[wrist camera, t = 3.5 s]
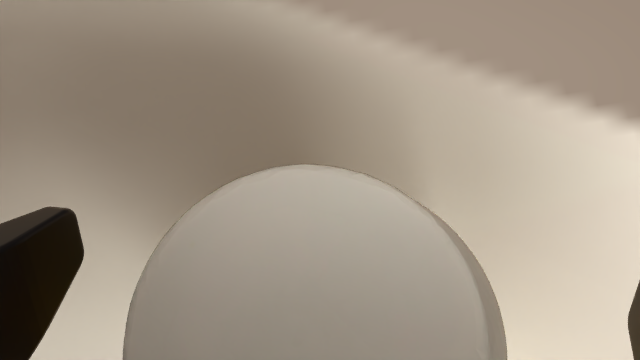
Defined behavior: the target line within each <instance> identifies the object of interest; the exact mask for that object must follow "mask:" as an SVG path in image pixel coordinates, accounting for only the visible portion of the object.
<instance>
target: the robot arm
mask: <svg viewBox="0 0 640 360" xmlns="http://www.w3.org/2000/svg"><path fill="white" fill-rule="evenodd" d="M83 257H84V247H83V243H82V239H81V234H80V230H79V226H78V222H77V218H76V215H75V213H74V212H73V211H72V210H71V209H68V208H59V207H45V208H42V209H40V210H37V211H34V212H31V213H29V214H26V215H23V216H21V217H18V218H15V219H12V220H10V221H7V222H4V223H1V224H0V360H29V359H30V357H31V356H32V354H33V353H34V351H35V350H36V348H37V346H38V345H39V343H40V341H41V340H42V338H43V337H44V335H45V333H46V331H47V329H48V328H49V326H50V324H51V322H52V320H53V318H54V316H55V314H56V312H57V310H58V308H59V306H60V305H61V303H62V301H63V299H64V297H65V295H66V293H67V291H68V289H69V287H70V285H71V283H72V281H73V279H74V277H75V275H76V274H77V272H78V270H79V268H80V266H81V264H82V261H83ZM628 330H629V335H630V341H631V346H632V351H633V357H634V360H640V281H639V284H638V287H637V290H636V293H635V296H634V299H633V302H632V305H631V308H630V311H629V316H628Z"/></svg>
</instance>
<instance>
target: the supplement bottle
mask: <svg viewBox="0 0 640 360" xmlns="http://www.w3.org/2000/svg"><path fill="white" fill-rule="evenodd" d="M123 360H507V346H506V337H505V331H504V326H503V321H502V317H501V313H500V309H499V306H498V303H497V300H496V297H495V295H494V292H493V290H492V287H491V285H490V282H489V280H488V278H487V276H486V274H485V272H484V270H483V269H482V267H481V265H480V264H479V262H478V261H477V259H476V258H475V256H474V255H473V253H472V252H471V250H470V249H469V248H468V247H467V245H466V244H465V243H464V241H463V240H462V239H461V238H460V237H459V236H458V235H457V233H456V232H455V231H454V230H453V229H452V228H451V227H450V226H449V225H447V224H446V223H445V222H444V221H443V220H442V219H441V218H439V217H438V216H437V215H435V214H434V213H433V212H432V211H430V210H429V209H427V208H426V207H424V206H422V205H421V204H419V203H418V202H416V201H414V200H413V199H411V198H410V197H409V196H407V195H406V194H404V193H403V192H401V191H400V190H398V189H396V188H395V187H393V186H391V185H389V184H386V183H384V182H382V181H380V180H378V179H376V178H374V177H371V176H369V175H367V174H364V173H360V172H355V171H351V170H347V169H344V168H339V167H333V166H325V165H313V164H298V165H288V166H279V167H273V168H269V169H266V170H262V171H259V172H255V173H252V174H249V175H246V176H244V177H241V178H238V179H235V180H234V181H232V182H230V183H228V184H226V185H224V186H222V187H220V188H219V189H217V190H215V191H214V192H212V193H211V194H209V195H208V196H206V197H205V198H203V199H202V200H201V201H199V202H198V203H196V204H195V205H194V206H193V207H192V208H190V209H189V210H188V211H187V212H186V213H185V214H184V215H183V216H182V217H181V218H180V219H179V220H178V221H177V222H176V223H175V224H174V225H173V226H172V227H171V229H170V230H169V231H168V232H167V233H166V235H165V236H164V237H163V238H162V240H161V241H160V243H159V244H158V246H157V247H156V249H155V250H154V252H153V253H152V255H151V257H150V259H149V260H148V262H147V264H146V266H145V268H144V270H143V272H142V274H141V276H140V279H139V281H138V283H137V286H136V289H135V291H134V294H133V297H132V300H131V303H130V308H129V313H128V318H127V323H126V330H125V337H124V347H123Z"/></svg>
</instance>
